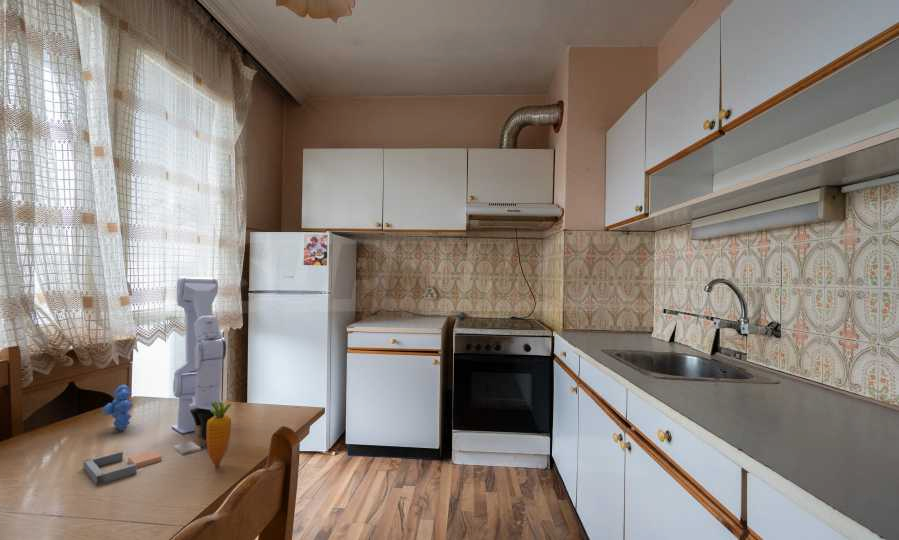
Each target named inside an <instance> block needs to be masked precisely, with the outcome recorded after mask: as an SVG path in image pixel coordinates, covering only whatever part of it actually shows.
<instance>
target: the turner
mask: <svg viewBox="0 0 899 540" xmlns="http://www.w3.org/2000/svg"><path fill="white" fill-rule="evenodd" d="M193 435H194V436H193V438H194V439H193V440H192V441H191V440H190V441H187V442H183V443H179V444H177V445H173V449H174V451H176V452H178V453H179V454H180V455H182V456H184V455H187V454H191V453H195V452H198V451H201V450H202V447H207V441H206V440H204V439H203V436H202V426H201V425H197V426H195V431H194V434H193Z"/></svg>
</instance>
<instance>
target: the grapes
mask: <svg viewBox="0 0 899 540" xmlns="http://www.w3.org/2000/svg"><path fill="white" fill-rule="evenodd" d="M130 391H131V388H130V387H129V386H128V385H125V384H120V385H119V386H118V387H117V388H116V390H114V393H113V395H114V396H115V397H114V398H113V400H112V402H108V403H107V404H106V405H105V406H104V407H103V408H102V409H101V411H102V412H103V413H104V414H106V415H107V416H112V418H113V419H115V420H114V422H113V423H112V425H114V427H115V428H117V430H120V431H122V430H123V431H124V430H125V429H127V427H128V426H129V425H130V423H131V422H130V421H129V420H130V419H131V417H132V415H131V414H130V413H128V412H129V411H130V410H131V409H132V407H133V406H134V405H133V403H131V402H130V400H129V398H130V397H131V396H132V393H131V392H130Z"/></svg>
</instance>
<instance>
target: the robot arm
mask: <svg viewBox="0 0 899 540" xmlns="http://www.w3.org/2000/svg"><path fill="white" fill-rule="evenodd" d="M218 292H219V282H218V279H217V278H216V277H199V276H198V277H195V276H190V277H189V276H183V275H182V276H180V277H179V278H178V279H177V283H176V302H177V306H179V307H181V308H183V311H184V315H185V316H184V317H185V363H184V364H182V365H181V366H180V367H178V368H177V369H175V372H174V376H173V387H172V389H173V390H172V394H173V396H174V397H175V398H176V399H177V398H178V409H177V410H178V413H177V423H175V424H173V425H171V428H173V429H174V430H176V431H177V432H178V433H180V434H186V433H187V434H188V433H191V432H195V426H197V425H201V426H202V436H203V439H204V440H206V430H207V421H208V420H209V419H210V418H212V417H214V416H216V415H214V414H213V413H212V412H210V411H211V410H214V411H215V409H214V407H213V405H212V404H211V403H212V402H213V401H216V402H217V404H218V406H219V408H220V404H219V403H220V402H222V400H221V390H222V374H223V371H222V370H223V360H225V358H226V355H227V343H226V340H225V337H224V335H221V330H220V326H219V325H220V324H219V321H218V319H217V318H216V317H215V316H213V302H214V301H215V299H216V297H217V294H218ZM220 409H221V408H220ZM215 412H216V411H215Z"/></svg>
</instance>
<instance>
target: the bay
mask: <svg viewBox="0 0 899 540" xmlns="http://www.w3.org/2000/svg"><path fill="white" fill-rule="evenodd" d="M123 453H124V451H122V450H120V451H117V452H116V451H115V452H111V453H108V454H105V455H101V456H96V457H92V458H88V459H85V460H83V467H82V468H83V471H84V472H85V473H86V474H87V475H88V477H89V478H90V479H91V481H92V482H93V483H94V484H95V485H96V486H98V485H102V484H105V483H108V482H112V481H115V480H117V479H121V478H124V477H125V478H126V477H128V476H131V475H134V474H137V465H136V464H132V465H131V464H129V465H125V466H122V467H118V468H115V469H114V468H113V469H111V470H107V471H102V470H101V468H100V467H101V466H104V465H108V464H111V463H116V462H119V461H122V460H123V455H124V454H123Z"/></svg>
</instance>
